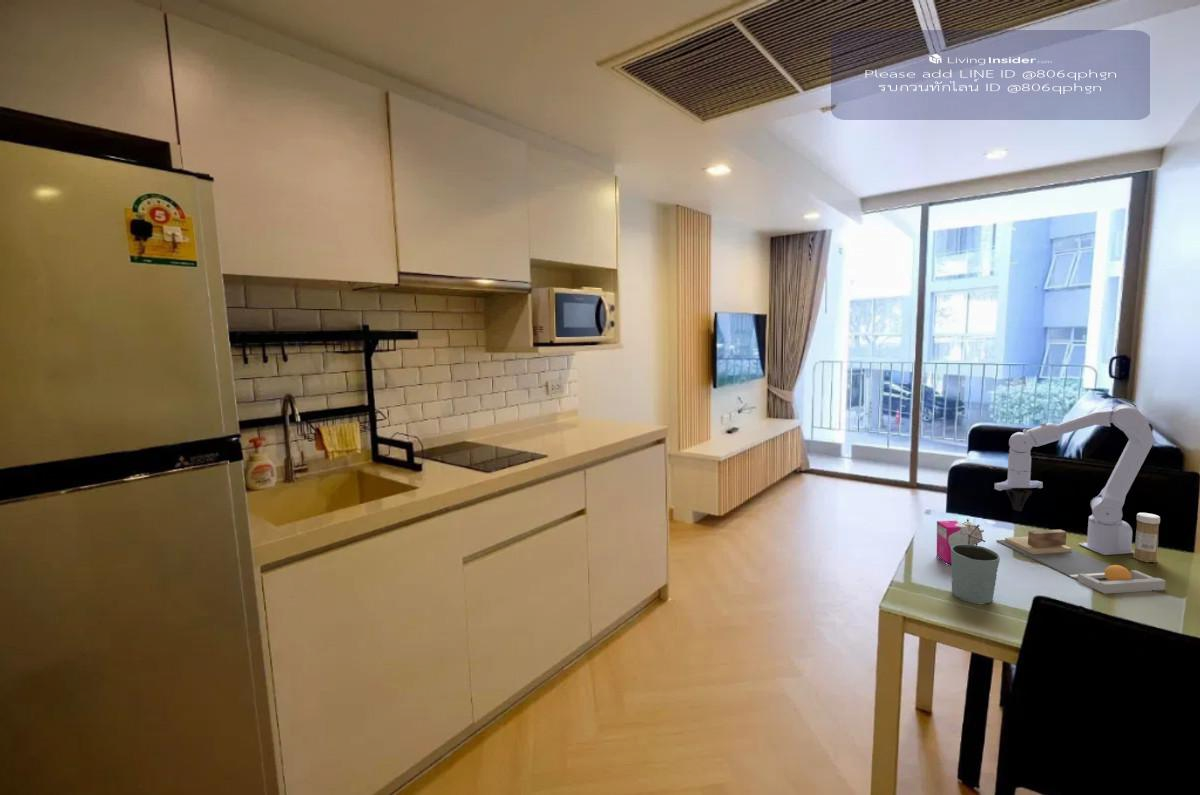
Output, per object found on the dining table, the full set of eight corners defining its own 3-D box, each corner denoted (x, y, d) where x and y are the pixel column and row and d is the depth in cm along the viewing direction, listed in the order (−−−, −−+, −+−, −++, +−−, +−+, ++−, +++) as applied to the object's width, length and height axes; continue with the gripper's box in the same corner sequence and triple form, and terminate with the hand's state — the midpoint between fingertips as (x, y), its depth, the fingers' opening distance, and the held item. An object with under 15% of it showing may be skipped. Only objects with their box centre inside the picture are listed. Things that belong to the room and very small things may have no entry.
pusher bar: (1059, 542, 156) (1060, 529, 156) (1065, 545, 154) (1066, 531, 154) (1027, 544, 156) (1028, 531, 155) (1033, 547, 154) (1034, 533, 153)
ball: (1139, 572, 131) (1134, 588, 133) (1119, 560, 136) (1114, 576, 138) (1120, 573, 131) (1115, 589, 133) (1101, 561, 136) (1097, 577, 138)
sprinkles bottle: (1158, 560, 146) (1162, 515, 145) (1154, 564, 144) (1158, 518, 142) (1135, 555, 150) (1139, 510, 149) (1131, 559, 148) (1134, 514, 146)
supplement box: (955, 556, 155) (956, 519, 154) (967, 565, 149) (969, 527, 148) (935, 556, 156) (936, 520, 154) (946, 565, 150) (947, 527, 148)
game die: (975, 558, 161) (998, 540, 155) (949, 550, 161) (972, 532, 155) (964, 535, 168) (986, 517, 162) (940, 527, 168) (961, 509, 162)
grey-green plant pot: (951, 583, 139) (953, 540, 138) (998, 593, 133) (1000, 549, 131) (947, 598, 132) (948, 554, 130) (997, 610, 125) (999, 563, 124)
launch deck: (1044, 538, 165) (1045, 530, 164) (1164, 589, 131) (1165, 580, 131) (996, 541, 164) (996, 533, 164) (1104, 593, 130) (1105, 584, 130)
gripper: (1030, 465, 170) (1028, 504, 172) (987, 467, 170) (986, 507, 171) (1049, 470, 163) (1047, 511, 165) (1005, 473, 163) (1003, 514, 164)
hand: (1017, 510), depth 167 cm, fingers closed
